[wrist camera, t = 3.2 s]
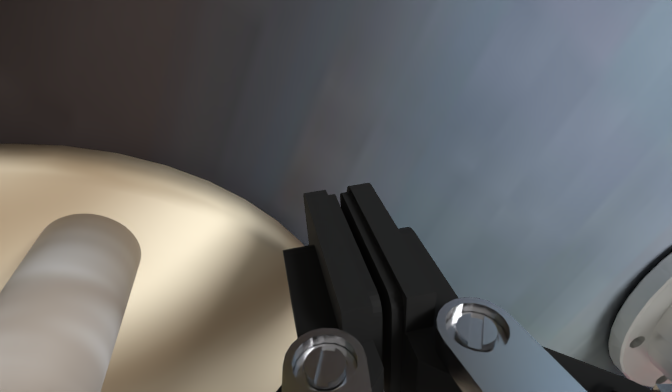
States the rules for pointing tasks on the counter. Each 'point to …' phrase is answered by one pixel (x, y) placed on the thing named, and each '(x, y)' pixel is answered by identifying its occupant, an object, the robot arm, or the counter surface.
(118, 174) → the serving platter
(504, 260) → the counter surface
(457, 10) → the counter surface
